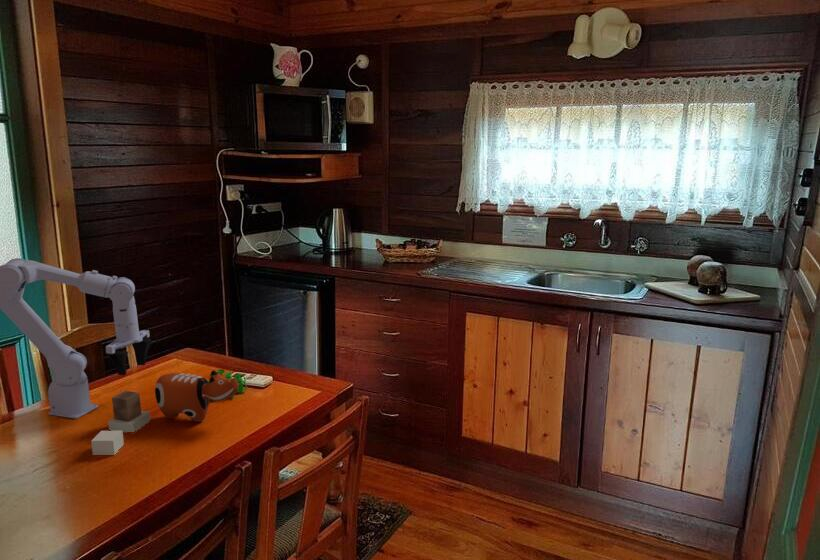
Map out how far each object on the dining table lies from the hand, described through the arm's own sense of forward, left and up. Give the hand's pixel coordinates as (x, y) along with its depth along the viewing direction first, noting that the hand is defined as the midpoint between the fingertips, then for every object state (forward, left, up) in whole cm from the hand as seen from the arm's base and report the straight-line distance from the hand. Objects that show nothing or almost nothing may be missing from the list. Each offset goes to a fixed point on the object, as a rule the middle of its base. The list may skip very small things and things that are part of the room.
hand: (132, 369), depth 161 cm
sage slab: (+8, -11, -11) cm, 17 cm away
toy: (+24, -4, -11) cm, 26 cm away
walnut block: (+7, -11, -8) cm, 16 cm away
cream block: (+12, -23, -11) cm, 28 cm away
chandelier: (+18, +14, -11) cm, 26 cm away
